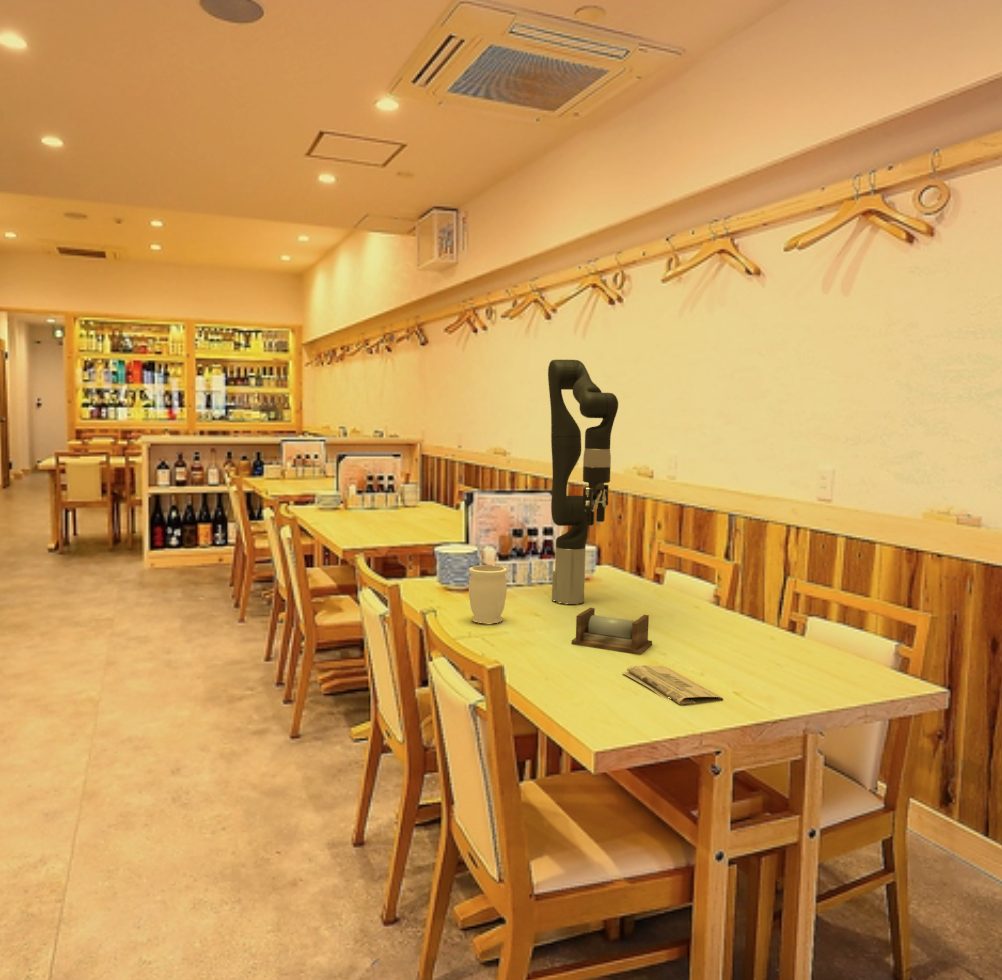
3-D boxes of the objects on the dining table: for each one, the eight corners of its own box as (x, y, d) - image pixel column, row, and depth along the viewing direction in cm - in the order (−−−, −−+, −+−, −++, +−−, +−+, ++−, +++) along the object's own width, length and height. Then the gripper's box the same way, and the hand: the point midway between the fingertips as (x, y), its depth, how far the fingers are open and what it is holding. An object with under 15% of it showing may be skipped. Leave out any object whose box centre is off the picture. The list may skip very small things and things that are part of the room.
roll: (588, 637, 203) (588, 618, 203) (595, 632, 208) (595, 612, 207) (630, 644, 198) (630, 623, 198) (636, 637, 203) (636, 618, 202)
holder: (571, 644, 203) (572, 615, 202) (585, 634, 212) (586, 606, 211) (640, 654, 195) (641, 624, 194) (651, 644, 204) (653, 615, 203)
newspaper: (619, 675, 180) (620, 664, 180) (665, 676, 185) (666, 665, 185) (673, 710, 159) (675, 698, 159) (724, 710, 163) (726, 698, 163)
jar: (507, 617, 228) (508, 565, 227) (504, 626, 218) (505, 572, 217) (470, 615, 229) (471, 564, 228) (465, 625, 219) (466, 571, 218)
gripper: (593, 463, 228) (591, 519, 230) (574, 465, 216) (573, 525, 217) (618, 464, 225) (616, 521, 227) (601, 467, 212) (599, 527, 214)
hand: (595, 523), depth 222 cm, fingers open, 8 cm apart
